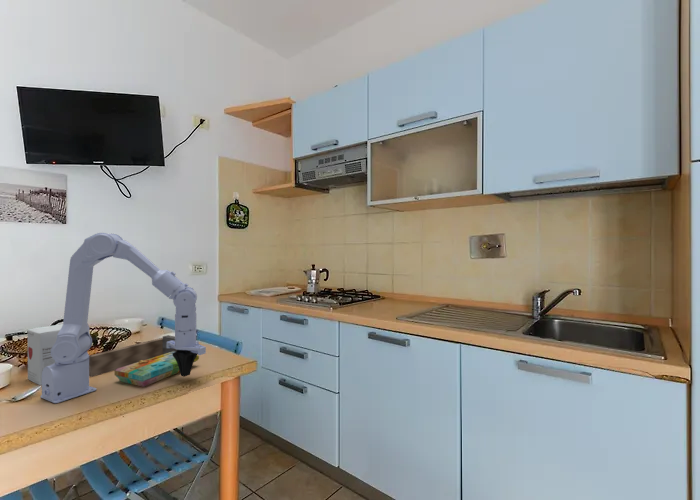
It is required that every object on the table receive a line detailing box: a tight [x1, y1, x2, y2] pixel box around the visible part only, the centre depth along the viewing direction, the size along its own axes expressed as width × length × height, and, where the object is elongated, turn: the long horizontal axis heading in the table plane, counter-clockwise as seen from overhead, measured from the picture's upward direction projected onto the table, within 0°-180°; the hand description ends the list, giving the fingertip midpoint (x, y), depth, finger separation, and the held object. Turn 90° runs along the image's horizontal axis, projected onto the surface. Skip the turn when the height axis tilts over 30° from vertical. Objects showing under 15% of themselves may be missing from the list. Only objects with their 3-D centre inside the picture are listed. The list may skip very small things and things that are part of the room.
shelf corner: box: [89, 334, 177, 378], centre depth 115 cm, size 25×12×7 cm, turn 153°
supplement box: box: [27, 323, 63, 386], centre depth 105 cm, size 9×9×15 cm
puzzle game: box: [113, 352, 200, 387], centre depth 109 cm, size 12×5×20 cm
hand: (185, 375), depth 103 cm, fingers closed
